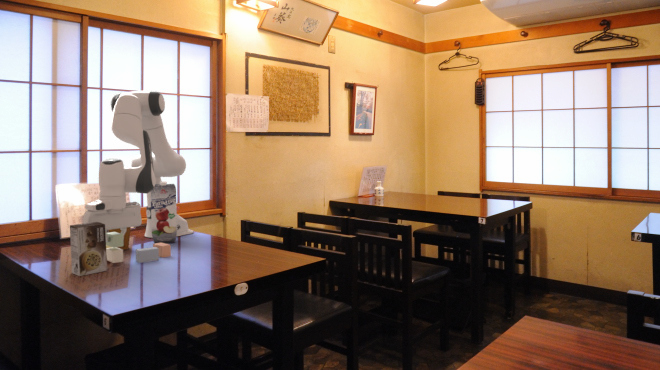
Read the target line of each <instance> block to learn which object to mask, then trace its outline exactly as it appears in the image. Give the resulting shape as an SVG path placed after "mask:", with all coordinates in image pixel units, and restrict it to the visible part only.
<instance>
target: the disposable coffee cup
mask: <svg viewBox="0 0 660 370" xmlns="http://www.w3.org/2000/svg"><path fill="white" fill-rule="evenodd" d="M131 228H132V227H127V231H126V233H125V234H124V240H123V242H124V246H122V247H117V248H120V249H122V250H123V251H125V250H128V249H129V248H130V247H129V246H130V237H131V230H132V229H131ZM121 231H122V230H120V228H119V229H111V230H108V233H109V232H117V233H121Z"/></svg>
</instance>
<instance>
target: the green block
mask: <svg viewBox="0 0 660 370" xmlns="http://www.w3.org/2000/svg"><path fill="white" fill-rule="evenodd" d="M106 235H107V236H108V237H110V242H106V245H107V246H110V247H113V248H115V247H122V246H124V242H123V234H121V233H117V232H109V231H108V232H107V233H106Z"/></svg>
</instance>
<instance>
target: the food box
mask: <svg viewBox="0 0 660 370" xmlns="http://www.w3.org/2000/svg"><path fill="white" fill-rule="evenodd" d="M69 239H70V240H69V241H70V255H71V256H70V259H71V260H70V261H71V274H73V275H76V276H78V277H82V276H87V275H91V274H97V273H101V272H106V271H108V261H107V255H106V234H105V224H102V223H100V222H93V223H85V224H83V223H77V224H71V225H69Z"/></svg>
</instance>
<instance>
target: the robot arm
mask: <svg viewBox="0 0 660 370" xmlns="http://www.w3.org/2000/svg"><path fill="white" fill-rule="evenodd" d="M165 105H166V101H165V98H164V96H163V94H161V92H159V91H157V90H135V91H129V92H118V93H115V94H113V96H112V97H111V99H110V109H111V111H112V118H111V131H112V133H113V135H114V136H115V137H116V138H117V139H119V140H120V141H122V142H124V143H126V144H130V145H132V146H135V147H137V148H139V154H138V155H135V156H134V158H133V159H132V160H131V167H125V164H124V161H123V160H122V159H120V158H119V159H118V158H105V159H103V160H101V161H100V163H99V169H98V186H99V195H98V196H99V197H98V199H95V200H93V201H91V202H88V203H86V204H85V205H84V208H85V210H86V211H84V214H83V220H82V224H85V223H93V222H100V223H102V224H105V234H106V233H108V231H109V230H111V229H119V228H120V230H122V231H121V234H123V240H124V234H125V233H126V231H127V227H131V228H133V227H139V226H141V225H142V224H143V220H142V214H141V210H142V209H141V208H142V207H141V204H140V203H139V202H137V201H132V202H131V201H128V202H127V194H128V193H130V194H131V193H133V194H135V193H137V194H146V203H147V206H146V227H145V232H144V237H145V238H151V239H153V238H152V227H151V190H153V189H154V188H155V184H160V182H162V181H163V180H162V179H161V178H172V177H173V178H174V177H179V176H183V175H184V173H185V171H186V168H187V163H186V160H185V158H184V157H183V156H182V155H180V154H179V153H178V152H176V151H175V150H174V149H173V148H172V147H171V145H170V143H169V141H168V139H167V136H166V133H165V128H164V123H163V119H162V116H161V115H162V114H163V113H164V111H165V107H166V106H165ZM176 207H177V212H178V211H179V210H180V209H181V208H180V206H177V205H176ZM191 234H194V230H192V229H190V228H189V225H188V221H187V220H186V219H185V218H183V217H182V216H180V215H179V214H178V213H177V235H176V237H180V236H186V235H191ZM106 242H110V237H108V236H107V235H106Z"/></svg>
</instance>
